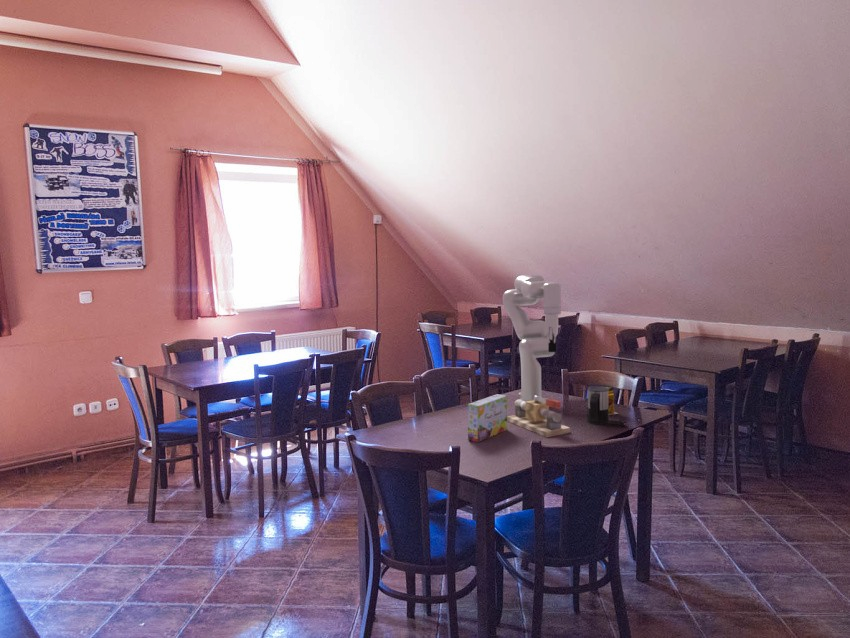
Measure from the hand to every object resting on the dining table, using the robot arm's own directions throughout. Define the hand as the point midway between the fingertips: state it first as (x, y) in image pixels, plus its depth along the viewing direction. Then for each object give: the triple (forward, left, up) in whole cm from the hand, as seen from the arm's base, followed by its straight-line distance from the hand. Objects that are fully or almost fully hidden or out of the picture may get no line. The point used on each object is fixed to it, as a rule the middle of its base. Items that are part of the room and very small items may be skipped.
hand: (552, 351), depth 283 cm
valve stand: (+10, -16, -29) cm, 35 cm away
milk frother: (+22, +11, -29) cm, 38 cm away
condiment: (+9, +23, -29) cm, 38 cm away
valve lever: (+16, -16, -18) cm, 29 cm away
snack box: (+9, -40, -29) cm, 50 cm away
